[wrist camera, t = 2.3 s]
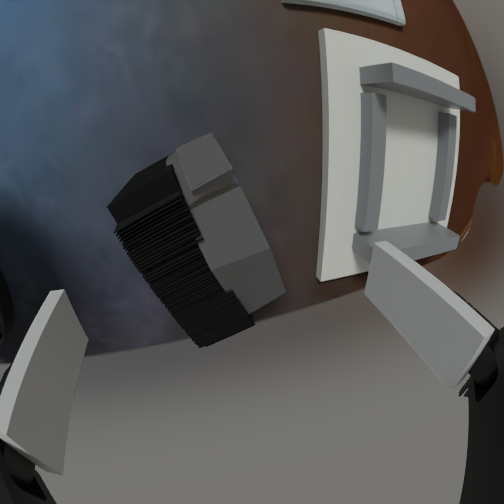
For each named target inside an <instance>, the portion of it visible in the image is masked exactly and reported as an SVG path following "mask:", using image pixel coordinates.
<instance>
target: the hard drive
mask: <svg viewBox="0 0 504 504" xmlns="http://www.w3.org/2000/svg"><path fill="white" fill-rule="evenodd" d="M281 3H292V4H303V5H311V6H318V7H325V8H331V9H336V10H342V11H347V12H351V13H356V14H360V15H364V16H368V17H372V18H376V19H379V20H382V21H386V22H389V23H392V24H395V25H398V26H403V25H405V16H404V12H403V8H402V4H401V1H400V0H281Z"/></svg>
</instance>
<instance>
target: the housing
mask: <svg viewBox="0 0 504 504" xmlns="http://www.w3.org/2000/svg"><path fill="white" fill-rule="evenodd" d="M318 34H319V47H320V61H321V80H322V113H323V161H322V195H321V216H320V233H319V247H318V259H317V271H316V277H317V278H318V279H319V281H320V282H322V281H327V280H331V279H336V278H340V277H345V276H349V275H354V274H358V273H362V272H366V271H369V268H370V262H371V257H372V251H373V245H374V243H375V242H381V241H388V242H389V243H391V244H392V245H393V246H395V247H396V248H398V249H399V250H400V251H402V252H403V253H404V254H406V255H407V256H408V257H410V258H411V259H412V260H417V259H421V258H425V257H428V256H432V255H436V254H439V253H443V252H446V251H450V250H453V249H456V248H457V244H458V241H459V237H460V236H459V235H458V234H456V233H454V232H453V231H451V230H449V229H447V224H448V219H449V214H450V209H451V204H452V198H453V192H454V185H455V178H456V170H457V160H458V149H459V131H460V110H464V111H470V112H475V98H474V97H472V96H470V95H469V94H467V93H465V92H463V91H461V90H459V77H458V76H456V75H455V74H453V73H451V72H449V71H447V70H445V69H443V68H441V67H439V66H437V65H435V64H433V63H431V62H428V61H426V60H424V59H422V58H419V57H417V56H415V55H412V54H410V53H407V52H405V51H402V50H399V49H397V48H394V47H391V46H388V45H386V44H383V43H380V42H376V41H373V40H370V39H367V38H363V37H360V36H356V35H352V34H348V33H344V32H340V31H336V30H331V29H326V28H323V29H321V30H320V31H318Z"/></svg>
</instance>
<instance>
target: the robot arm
mask: <svg viewBox="0 0 504 504" xmlns="http://www.w3.org/2000/svg"><path fill="white" fill-rule="evenodd" d="M364 294H365V295H366V296H367V297H368V298H369V299H370V300H371V302H372V303H373V304H374V305H375V306H376V307H377V308H378V309H379V310H380V311H381V313H382V314H383V315H384V316H385V317H386V318H387V319H388V320H389V322H390V323H391V324H392V325H393V326H394V327H395V328H396V329H397V331H398V332H399V333H400V334H401V335H402V336H403V337H404V339H405V340H406V341H407V342H408V343H409V344H410V345H411V347H412V348H413V349H414V350H415V351H416V353H417V354H418V355H419V356H420V357H421V358H422V360H423V361H424V362H425V363H426V365H427V366H428V367H429V368H430V369H431V371H432V372H433V373H434V374H435V376H436V377H437V378H438V379H439V380H440V382H441V383H442V384H443V385H444V387H445V388H446V389H447V391H448V392H449V391H450V390H452V389H453V388H455V387H456V386H457V385H458V384H460V383H461V381H462V380H463V379H464V378H465V376H466V375H467V373H469V374H470V375H471V376H470V378H469V379H468V380H467V382H466V383H465V384H464V386H463V387H462V388H461V390H460V392H459V396H461V395H462V394H463V393H464V391H465V390H466V389H467V388H468V390H467V391H466V393H465V394H464V396H466V397H468V398H469V431H468V449H467V460H466V469H465V476H464V483H463V489H462V494H461V499H460V504H504V327H503V328H501V329H500V330H499V329H497V328H496V327H495V326H494V325H493V324H492V323H491V322H490V321H489V320H488V319H486V318H485V317H484V316H483V315H482V314H481V313H480V312H479V311H478V310H477V309H475V308H473V306H472V305H471V304H470V303H469V302H466V300H465V299H464V298H463V297H462V296H460V295H459V294H458V293H456V292H455V291H453V290H450V289H449V288H448V287H447V286H445V285H444V284H443V283H442V282H441V281H439V280H438V279H437V278H436V277H434V276H433V275H432V274H431V273H429V272H428V271H427V270H425V269H424V268H423V267H422V266H420V265H419V264H418V263H416V262H415V261H414V260H412V259H411V258H410V257H408V256H407V255H406V254H404V253H403V252H402V251H400V250H399V249H398V248H396V247H395V246H393V245H392V244H391V243H389V242H388V241H381V242H375V243H374V245H373V251H372V257H371V262H370V268H369V273H368V278H367V283H366V287H365V292H364ZM12 322H13V311H12V304H11V300H10V296H9V293H8V290H7V287H6V284H5V282H4V279H3V277H2V275H1V273H0V346H1V345H2V344H3V342H4V341H5V339H6V337H7V335H8V333H9V331H10V329H11V326H12ZM88 340H89V339H88V338H87V336H86V334H85V332H84V330H83V328H82V326H81V324H80V322H79V320H78V318H77V316H76V314H75V312H74V310H73V308H72V305H71V303H70V301H69V299H68V296H67V294H66V292H65V289H62V290H55V291H50V293H49V294H48V296H47V298H46V299H45V301H44V303H43V304H42V306H41V308H40V310H39V312H38V313H37V315H36V317H35V319H34V321H33V323H32V324H31V326H30V328H29V330H28V332H27V334H26V336H25V338H24V340H23V342H22V344H21V347H20V349H19V351H18V353H17V355H16V357H15V360H14V362H13V364H11V365H10V366H9V368H8V369H7V370H6V371H5V373H4V375H3V377H2V380H1V382H0V504H56V502H55V500H54V499H53V497H52V496H51V494H50V492H49V490H48V489H47V487H46V485H45V483H44V482H43V480H42V478H41V476H40V475H39V474H38V472H37V471H36V470H35V465H37V466H38V467H40V468H41V469H43V470H45V471H47V472H51V473H55V474H59V475H63V467H64V456H65V447H66V440H67V432H68V426H69V420H70V414H71V408H72V404H73V399H74V394H75V389H76V385H77V380H78V377H79V373H80V368H81V364H82V361H83V357H84V354H85V350H86V347H87V343H88Z"/></svg>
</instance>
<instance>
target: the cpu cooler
mask: <svg viewBox="0 0 504 504" xmlns="http://www.w3.org/2000/svg"><path fill="white" fill-rule="evenodd" d="M107 208H108V209H109V211H110V213H111V214H112V216H113V217H114V219H115V221H116V222H117V226H116V229H115V231H114V233H116V232H117V235H116V237H117V236H119V235H120V236H119V238H118V239H120V238H121V239H120V242H122V241H123V243H122V246H123V245H124V246H123V249H125V248H126V250H125V251H127V250H128V252H127V255H129V258H131V261H133V264H135V267H137V270H138V269H139V273H140V272H141V274H142V273H143V276H142V277H143V278H144V277H145V279H144V280H145V281H146V280H147V284H148V283H150V284H149V286H150V288H151V289H152V291H154V293H155V294H156V296H158V298H160V301H161V300H162V301H161V302H162V303H163V305H164V304H165V308H167V307H168V310H169V313H170V312H171V314H172V316H173V317H174V319H176V321H177V323H179V325H181V328H182V329H184V330H185V331H186V333H187V335H189V336H190V338H192V341H195V344H196V345H198V347H199V348H201V347H204V346H206V347H207V346H209V345H211V344H214V343H216V342H219V341H221V340H223V339H225V338H228V337H230V336H232V335H234V334H237V333H239V332H241V331H243V330H245V329H247V328H250V327H252V326H254V325H255V323H254V320H253V318H252V315H251V313H252V312H254V311H255V310H257V309H259V308H261V307H262V306H264V305H266V304H267V303H269V302H271V301H272V300H274V299H276V298H277V297H279V296H281V295H282V294H284V293H286V290H285V288H284V285H283V282H282V279H281V276H280V274H279V271H278V268H277V265H276V263H275V260H274V257H273V254H272V252H271V249H270V247H269V245H268V242H267V240H266V238H265V236H264V234H263V232H262V230H261V228H260V226H259V224H258V221H257V219H256V217H255V215H254V213H253V211H252V209H251V207H250V205H249V203H248V201H247V199H246V196H245V194H244V192H243V190H242V188H241V186H240V184H239V182H238V180H237V178H236V176H235V173H234V170H233V168H232V166H231V165H230V163H229V161H228V159H227V158H226V156H225V154H224V153H223V151H222V149H221V148H220V146H219V144H218V142H217V141H216V139H215V137H214V136H213V134H212V132H211V133H209V134H206V135H204V136H202V137H199V138H197V139H195V140H193V141H190V142H188V143H186V144H184V145H182V146H180V147H177V148H175V153H173V154H171V155H169V156H167V157H165V158H164V159H162V160H160V161H158V162H156V163H154V164H153V165H151V166H149V167H147V168H145V169H144V170H142V171H140V172H138V173H137V174H135V175H134V176H133V177H132V178H131V180H130V181H129V182H128V183H127V184H126V185H125V186H124V187H123V189H122V190H121V191H120V192H119V193H118V194H117V195H116V197H115V198H114V199H113V200H112V201H111V203H110V204H109V205H108V206H107ZM120 242H119V243H120Z"/></svg>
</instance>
